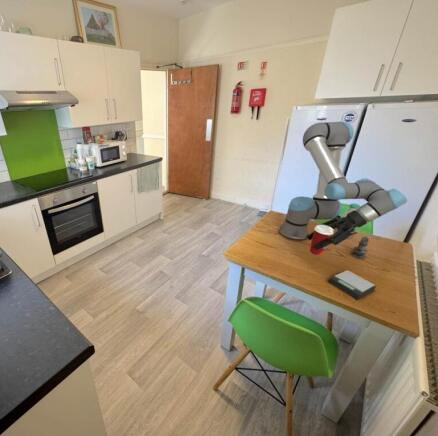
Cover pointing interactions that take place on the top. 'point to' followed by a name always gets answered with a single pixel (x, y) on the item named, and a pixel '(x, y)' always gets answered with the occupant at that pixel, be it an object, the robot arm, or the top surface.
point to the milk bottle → (351, 208)
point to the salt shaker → (361, 248)
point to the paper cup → (320, 238)
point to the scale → (352, 284)
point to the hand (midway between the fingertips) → (311, 243)
